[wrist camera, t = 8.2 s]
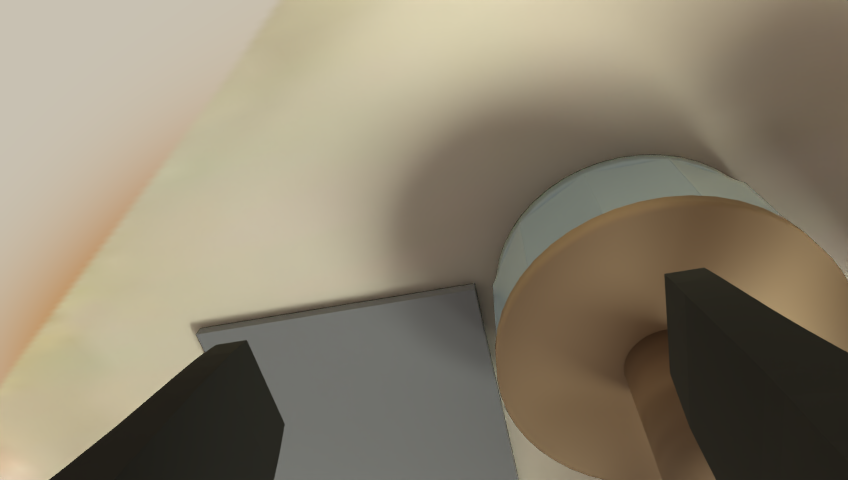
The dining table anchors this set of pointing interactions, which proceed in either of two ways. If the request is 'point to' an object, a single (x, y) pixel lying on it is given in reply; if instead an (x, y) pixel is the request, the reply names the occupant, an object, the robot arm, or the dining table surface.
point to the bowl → (605, 205)
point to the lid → (643, 327)
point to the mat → (382, 389)
